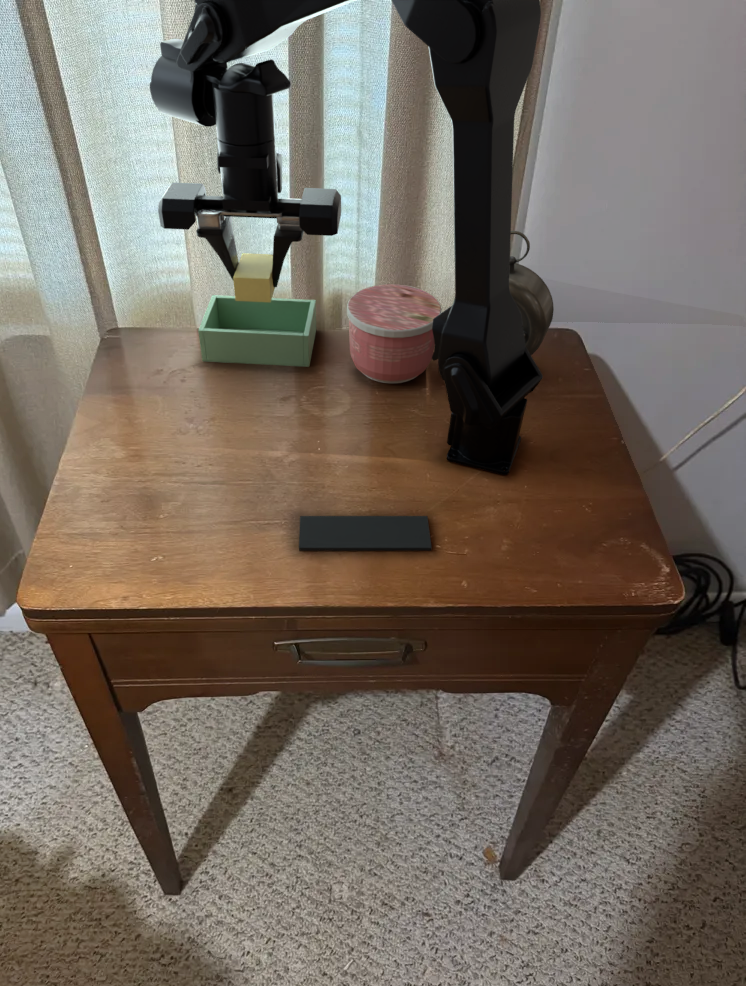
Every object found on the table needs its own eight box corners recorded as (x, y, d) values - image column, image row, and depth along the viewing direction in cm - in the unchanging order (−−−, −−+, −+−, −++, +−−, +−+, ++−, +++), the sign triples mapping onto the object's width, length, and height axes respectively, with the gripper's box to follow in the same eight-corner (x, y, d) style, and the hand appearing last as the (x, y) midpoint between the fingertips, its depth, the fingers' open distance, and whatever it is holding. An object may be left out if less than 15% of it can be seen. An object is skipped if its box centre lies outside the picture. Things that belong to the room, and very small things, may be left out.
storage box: (316, 333, 95) (315, 299, 92) (309, 370, 89) (308, 335, 86) (216, 328, 95) (212, 294, 92) (202, 364, 89) (197, 330, 86)
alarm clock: (541, 365, 90) (573, 230, 78) (530, 389, 87) (562, 251, 75) (454, 344, 93) (472, 212, 82) (440, 366, 90) (456, 231, 78)
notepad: (278, 277, 88) (276, 254, 86) (270, 302, 84) (269, 279, 82) (244, 276, 88) (242, 252, 86) (235, 301, 84) (233, 277, 82)
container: (414, 403, 84) (421, 339, 79) (330, 379, 88) (330, 316, 82) (447, 357, 91) (455, 295, 85) (367, 337, 94) (370, 276, 88)
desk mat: (427, 518, 71) (427, 515, 71) (431, 550, 68) (431, 547, 68) (300, 518, 71) (300, 515, 71) (298, 550, 68) (298, 547, 68)
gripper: (345, 114, 80) (343, 256, 91) (172, 107, 81) (191, 250, 92) (337, 150, 72) (336, 301, 83) (145, 143, 73) (169, 294, 84)
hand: (257, 284), depth 86 cm, fingers closed on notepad, 4 cm apart
